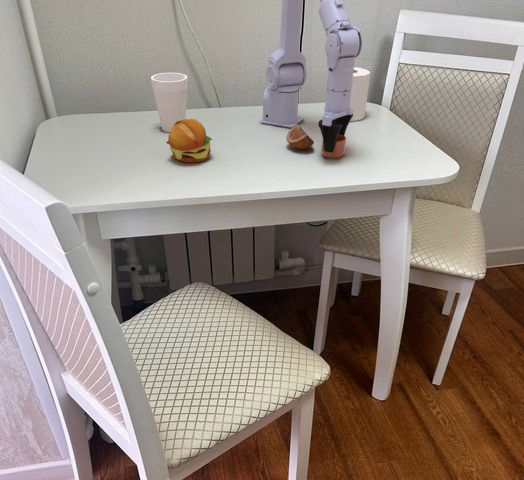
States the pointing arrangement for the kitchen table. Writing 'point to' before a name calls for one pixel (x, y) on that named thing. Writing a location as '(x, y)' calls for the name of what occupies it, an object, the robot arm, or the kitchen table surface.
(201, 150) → the cheeseburger
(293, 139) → the fruit slice
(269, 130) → the kitchen table surface
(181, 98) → the foam cup
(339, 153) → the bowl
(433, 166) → the kitchen table surface
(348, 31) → the robot arm
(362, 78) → the toilet paper
